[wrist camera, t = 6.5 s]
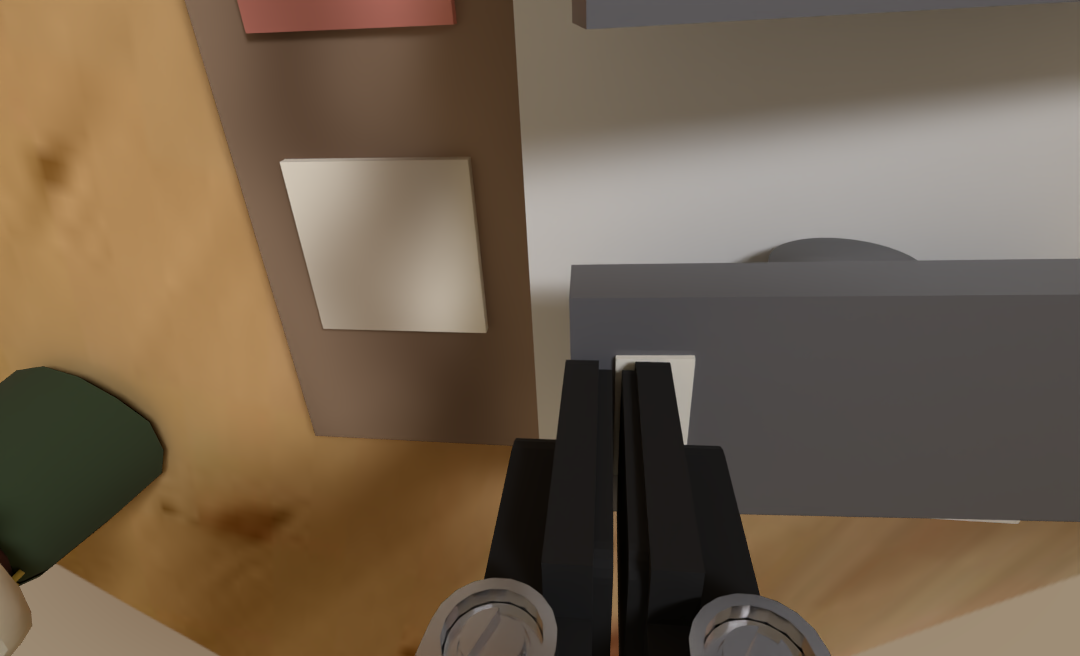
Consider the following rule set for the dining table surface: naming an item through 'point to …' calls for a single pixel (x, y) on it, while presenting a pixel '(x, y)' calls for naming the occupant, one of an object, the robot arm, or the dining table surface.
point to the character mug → (61, 477)
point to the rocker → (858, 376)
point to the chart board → (386, 206)
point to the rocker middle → (749, 10)
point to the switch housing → (791, 143)
